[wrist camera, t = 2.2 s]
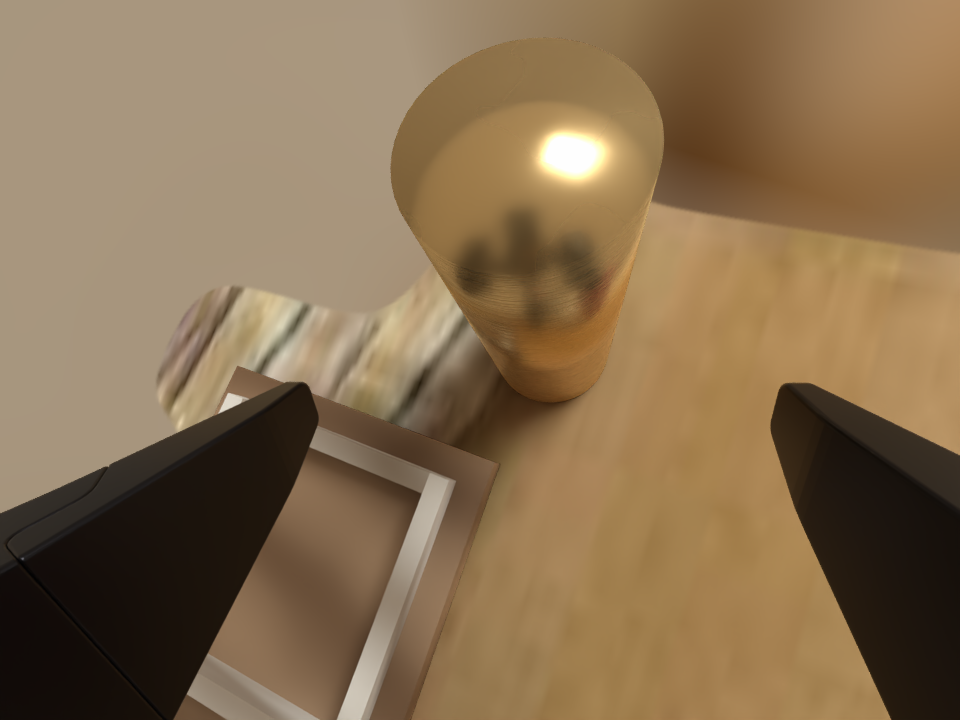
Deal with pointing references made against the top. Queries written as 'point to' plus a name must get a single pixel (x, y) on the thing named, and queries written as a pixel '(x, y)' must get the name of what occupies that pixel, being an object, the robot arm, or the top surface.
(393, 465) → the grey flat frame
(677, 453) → the top surface
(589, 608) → the top surface
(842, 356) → the top surface
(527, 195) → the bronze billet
